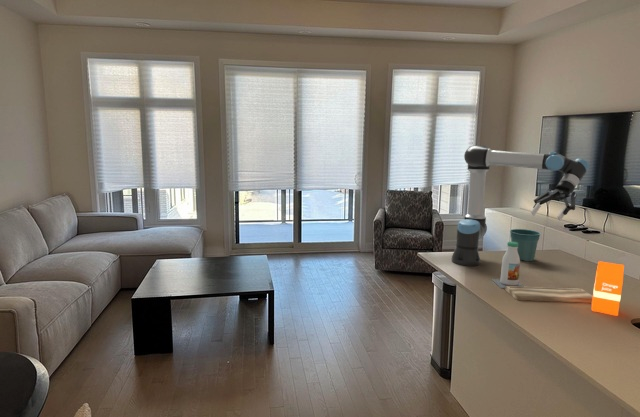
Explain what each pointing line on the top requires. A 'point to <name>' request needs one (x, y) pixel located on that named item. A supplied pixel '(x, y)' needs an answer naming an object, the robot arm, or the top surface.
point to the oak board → (549, 294)
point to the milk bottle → (510, 265)
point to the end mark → (503, 284)
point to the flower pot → (525, 243)
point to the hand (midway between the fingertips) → (545, 216)
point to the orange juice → (607, 288)
